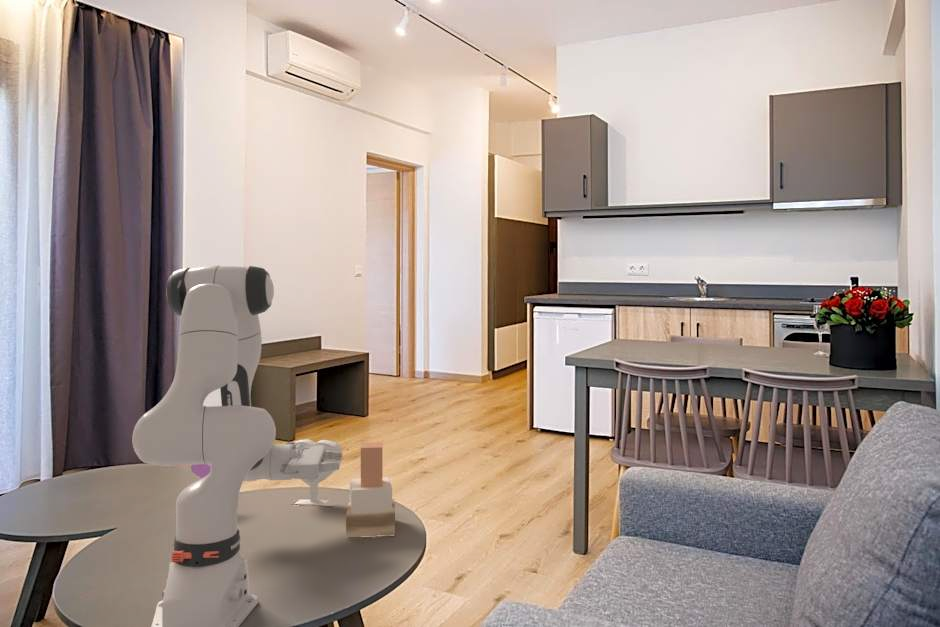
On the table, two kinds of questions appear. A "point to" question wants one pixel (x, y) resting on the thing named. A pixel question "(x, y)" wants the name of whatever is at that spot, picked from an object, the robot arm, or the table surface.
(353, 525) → the tower base
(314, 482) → the heart sculpture
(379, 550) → the table surface
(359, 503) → the tower top
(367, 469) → the terracotta block
